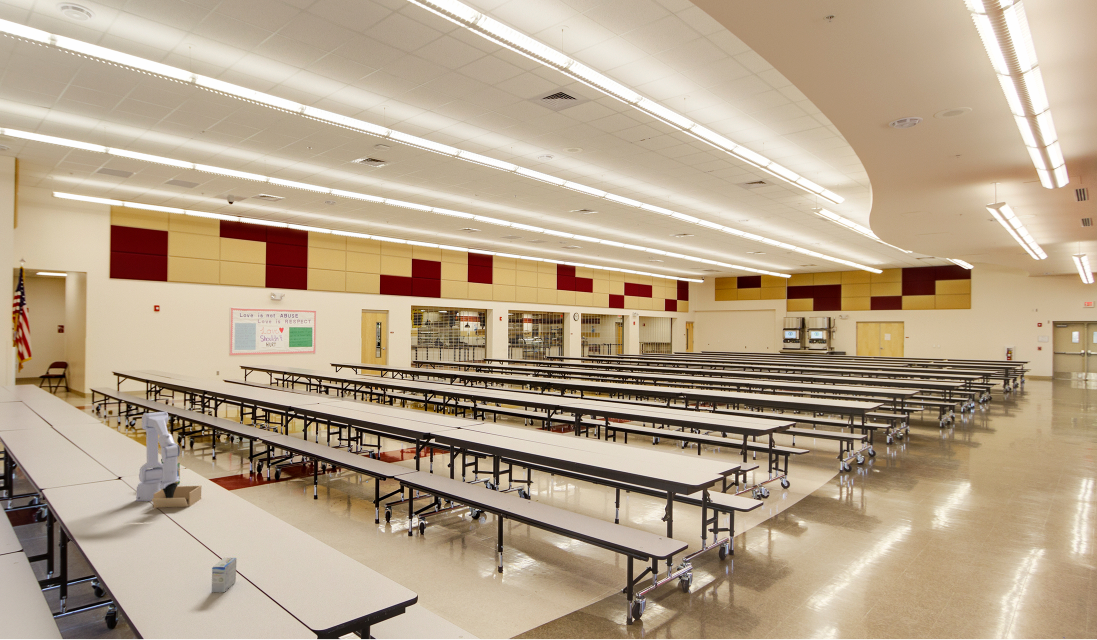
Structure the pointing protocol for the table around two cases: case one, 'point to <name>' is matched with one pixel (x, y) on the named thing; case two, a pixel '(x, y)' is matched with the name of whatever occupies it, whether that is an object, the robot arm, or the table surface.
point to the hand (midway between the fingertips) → (169, 499)
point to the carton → (183, 494)
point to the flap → (169, 502)
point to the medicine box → (223, 574)
